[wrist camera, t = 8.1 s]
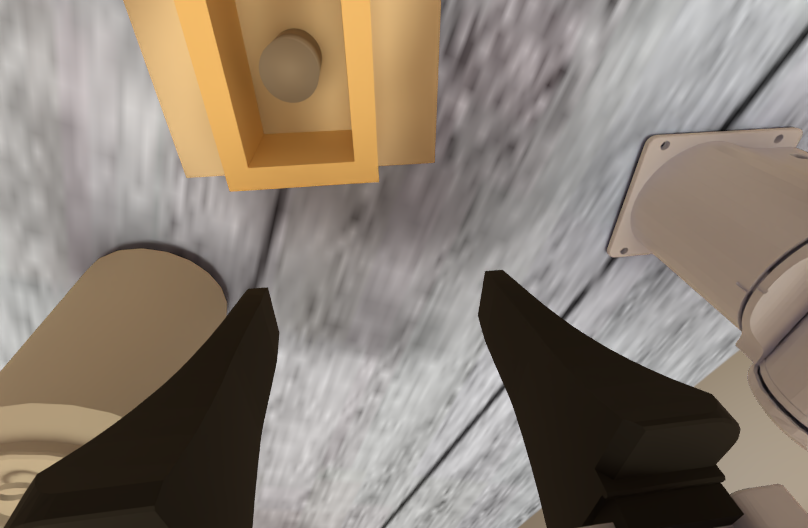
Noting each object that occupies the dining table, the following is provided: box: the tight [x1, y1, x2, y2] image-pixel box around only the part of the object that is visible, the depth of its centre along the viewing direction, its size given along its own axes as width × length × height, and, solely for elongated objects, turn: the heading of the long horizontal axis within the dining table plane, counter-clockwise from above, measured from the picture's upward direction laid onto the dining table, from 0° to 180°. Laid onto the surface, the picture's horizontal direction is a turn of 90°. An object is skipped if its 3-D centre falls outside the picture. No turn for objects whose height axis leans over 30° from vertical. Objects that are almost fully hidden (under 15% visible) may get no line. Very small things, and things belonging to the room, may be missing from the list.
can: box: [0, 248, 227, 528], centre depth 19 cm, size 8×8×12 cm
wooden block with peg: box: [123, 0, 441, 178], centre depth 15 cm, size 12×10×4 cm
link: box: [174, 0, 379, 192], centre depth 15 cm, size 6×8×4 cm
